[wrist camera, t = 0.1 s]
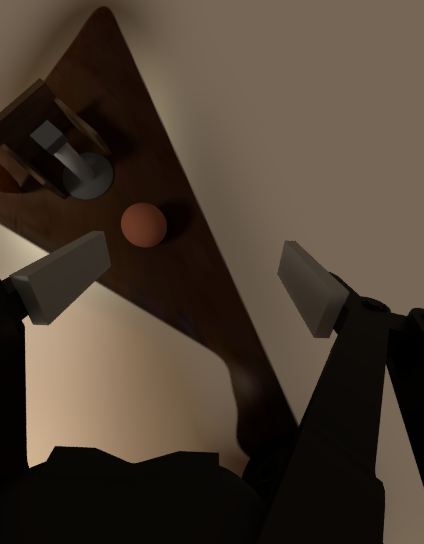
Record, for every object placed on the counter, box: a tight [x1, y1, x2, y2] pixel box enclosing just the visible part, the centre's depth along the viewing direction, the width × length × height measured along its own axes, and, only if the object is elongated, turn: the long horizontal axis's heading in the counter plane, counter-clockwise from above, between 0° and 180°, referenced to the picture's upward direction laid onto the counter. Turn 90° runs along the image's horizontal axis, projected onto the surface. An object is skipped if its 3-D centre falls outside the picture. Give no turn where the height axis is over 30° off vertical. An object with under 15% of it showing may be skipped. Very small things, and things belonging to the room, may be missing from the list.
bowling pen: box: [0, 79, 112, 199], centre depth 29 cm, size 10×11×6 cm
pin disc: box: [62, 152, 113, 200], centre depth 32 cm, size 8×8×1 cm
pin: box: [30, 120, 95, 182], centre depth 28 cm, size 3×3×8 cm
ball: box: [121, 203, 167, 247], centre depth 28 cm, size 6×6×6 cm
